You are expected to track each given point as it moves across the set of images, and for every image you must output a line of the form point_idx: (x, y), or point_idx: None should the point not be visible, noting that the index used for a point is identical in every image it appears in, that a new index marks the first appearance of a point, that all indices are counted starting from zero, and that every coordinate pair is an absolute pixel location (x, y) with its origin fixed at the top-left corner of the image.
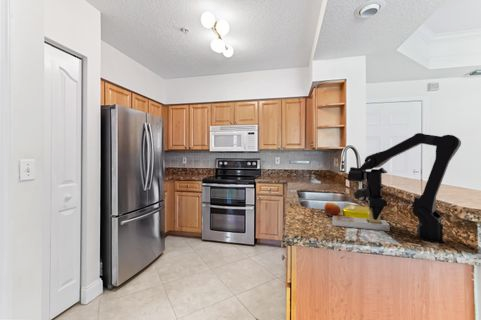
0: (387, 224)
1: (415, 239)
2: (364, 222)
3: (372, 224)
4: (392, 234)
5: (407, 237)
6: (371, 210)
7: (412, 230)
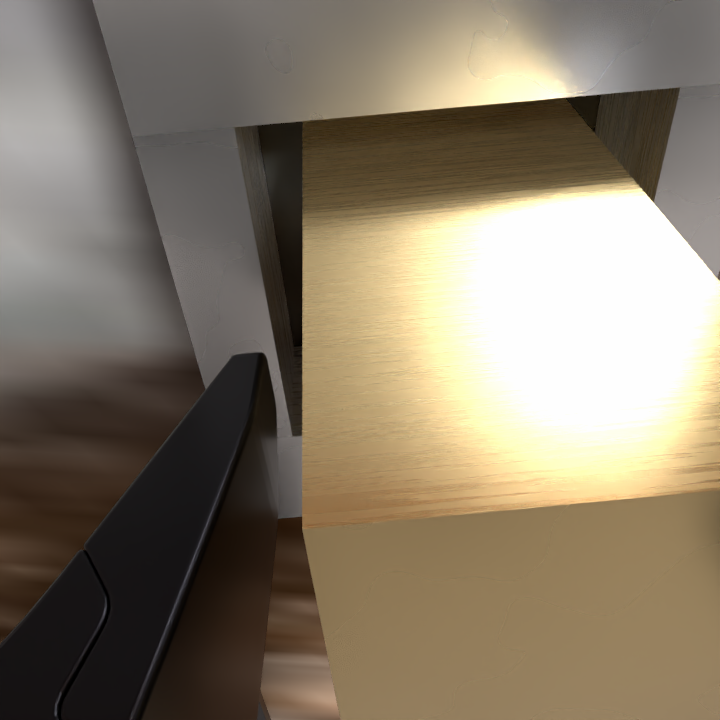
0: (286, 499)
1: (27, 612)
2: (158, 2)
3: (170, 230)
4: (66, 446)
5: (52, 567)
6: (309, 561)
7: None
